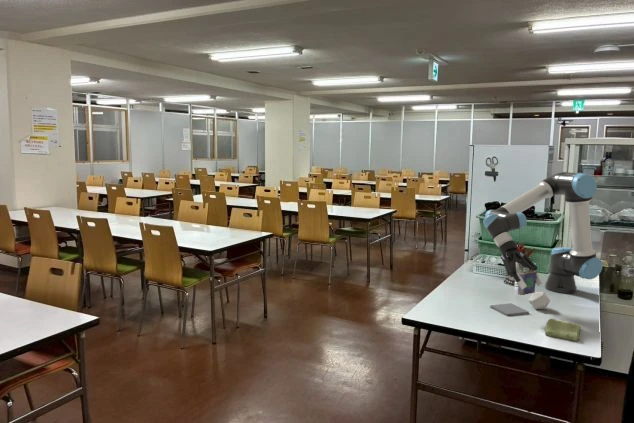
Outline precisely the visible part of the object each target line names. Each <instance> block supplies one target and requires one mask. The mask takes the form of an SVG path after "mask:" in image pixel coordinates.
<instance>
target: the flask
mask: <svg viewBox="0 0 634 423" xmlns="http://www.w3.org/2000/svg"><path fill="white" fill-rule="evenodd" d="M519 274H520V276H521V278H522V279H523V281H524V282H525V284H526V286H527V287H525V288H524V289H521V288H520V286H519V284H517V285H518V288H517V295H520V296H525V295H530V294H532V293H535V292H536V291H535V290H536V285H537V284H536V274H538V272H537V270H536V271H533V270H529V268H527V269H526V268H525V271H522V272H519Z"/></svg>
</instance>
